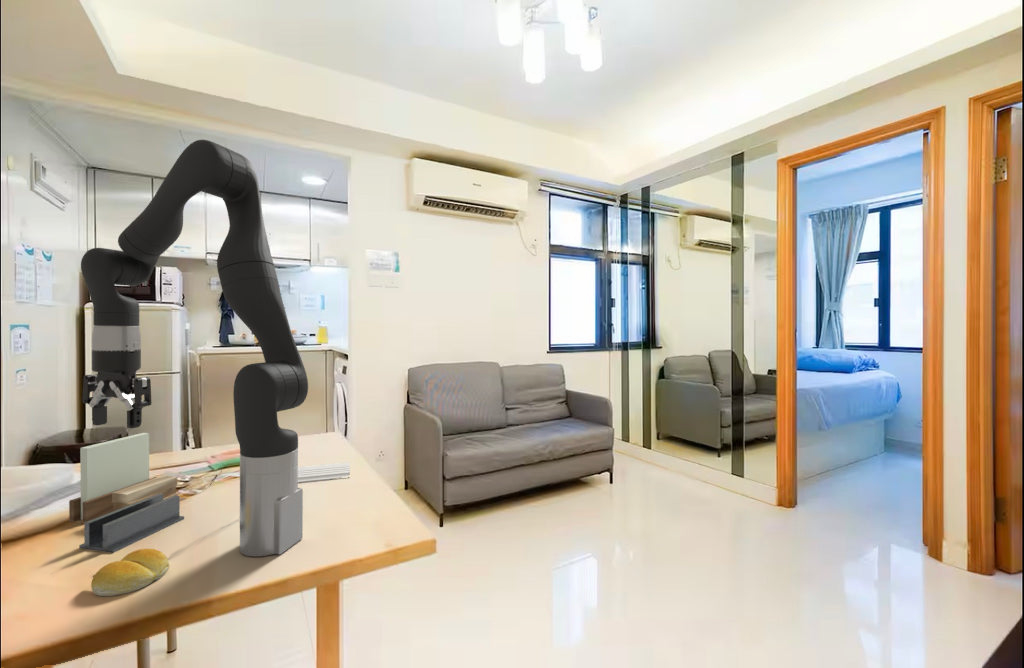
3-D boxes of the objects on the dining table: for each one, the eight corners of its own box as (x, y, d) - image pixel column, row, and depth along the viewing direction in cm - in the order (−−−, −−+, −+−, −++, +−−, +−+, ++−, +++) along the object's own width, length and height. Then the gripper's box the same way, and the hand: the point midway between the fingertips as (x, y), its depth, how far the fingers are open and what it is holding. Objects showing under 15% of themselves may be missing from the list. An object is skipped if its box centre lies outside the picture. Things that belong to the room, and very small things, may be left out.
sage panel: (149, 496, 96) (149, 433, 96) (87, 520, 85) (87, 448, 84) (143, 495, 97) (143, 432, 96) (80, 519, 85) (80, 447, 85)
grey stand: (184, 526, 86) (184, 496, 86) (113, 561, 73) (112, 526, 73) (154, 522, 87) (154, 493, 87) (79, 556, 74) (79, 522, 74)
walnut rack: (186, 504, 96) (186, 480, 96) (118, 535, 82) (118, 506, 82) (141, 500, 98) (141, 475, 98) (67, 528, 84) (67, 500, 84)
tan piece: (178, 501, 94) (178, 476, 94) (128, 522, 84) (128, 494, 84) (162, 499, 95) (161, 475, 95) (111, 520, 85) (111, 492, 85)
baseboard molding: (350, 482, 113) (349, 467, 124) (350, 470, 113) (349, 457, 124) (207, 497, 102) (221, 479, 113) (207, 484, 102) (221, 468, 113)
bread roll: (77, 594, 65) (77, 567, 65) (142, 562, 73) (142, 539, 73) (119, 604, 63) (119, 576, 63) (180, 570, 71) (180, 546, 71)
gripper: (67, 347, 87) (67, 428, 88) (126, 350, 85) (126, 433, 85) (108, 345, 95) (108, 420, 95) (163, 348, 92) (163, 424, 93)
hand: (116, 426), depth 90 cm, fingers open, 8 cm apart
